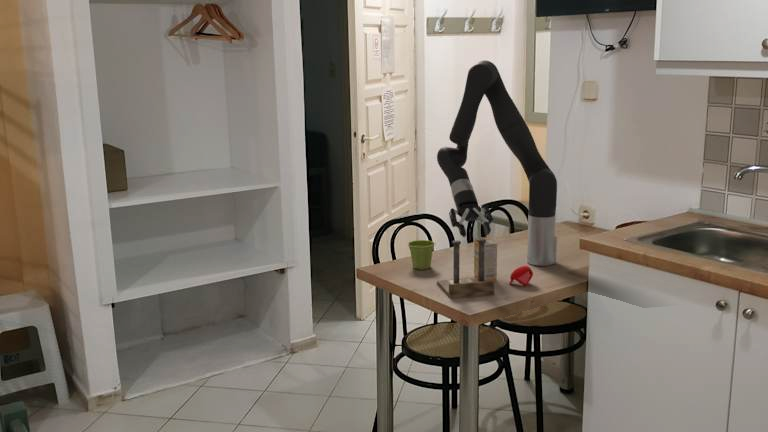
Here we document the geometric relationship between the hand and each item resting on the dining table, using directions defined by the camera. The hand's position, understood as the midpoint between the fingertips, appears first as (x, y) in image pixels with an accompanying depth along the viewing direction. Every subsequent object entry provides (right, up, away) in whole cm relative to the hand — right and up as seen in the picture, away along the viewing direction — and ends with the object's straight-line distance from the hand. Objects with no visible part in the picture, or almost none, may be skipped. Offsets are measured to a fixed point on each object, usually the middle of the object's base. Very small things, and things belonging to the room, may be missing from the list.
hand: (476, 234), depth 253 cm
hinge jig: (-6, -17, -15) cm, 23 cm away
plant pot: (-18, -12, +10) cm, 24 cm away
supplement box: (+2, -15, -4) cm, 15 cm away
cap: (+13, -16, -11) cm, 23 cm away
